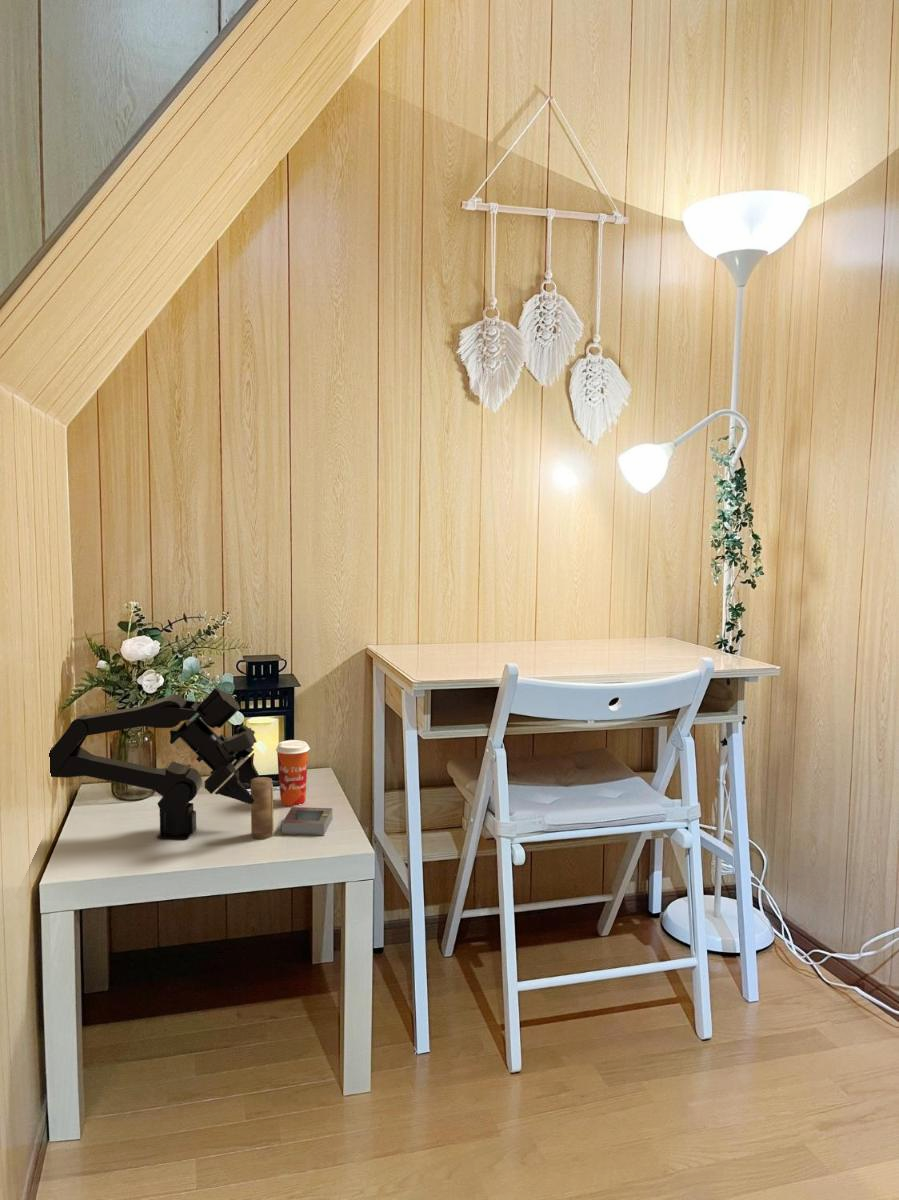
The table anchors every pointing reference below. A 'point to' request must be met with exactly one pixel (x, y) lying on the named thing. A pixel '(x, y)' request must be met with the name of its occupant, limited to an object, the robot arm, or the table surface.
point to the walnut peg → (262, 808)
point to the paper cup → (292, 771)
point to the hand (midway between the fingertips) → (258, 795)
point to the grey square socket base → (307, 821)
